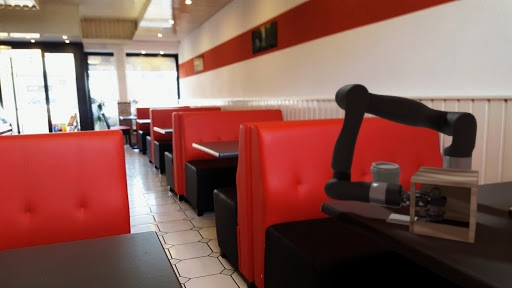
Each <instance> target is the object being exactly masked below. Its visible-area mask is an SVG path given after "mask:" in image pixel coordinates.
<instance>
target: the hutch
mask: <svg viewBox="0 0 512 288" xmlns="http://www.w3.org/2000/svg"><path fill="white" fill-rule="evenodd" d="M479 173H480V171H479V170H474V169H472V170H463V169H448V168H443V167H432V166H421V167H419V168H418V169H417V171H416V172H414V174H413V175H412V176H411V177H410V190H411V191H410V207H409V216H410V225H409V230H408V231H409V232H408V233H410V234H414V235H422V236H430V237H434V238H442V239H447V240H454V241H461V242H465V243H466V242H467V243H472V244H474V243H475V236H476V230H477V229H476V227H477V226H476V225H477V214H478V212H477V211H478V196H479V194H478V193H479V176H480V175H479ZM417 183H419V186H420V187H419V190H422V191H427V192H431V189H432V188H434V187H435V185H436V184H437V187H438V188H440V189H441V196H446V197H447V203H446V205H445V207H441V210H443V211H445V212H446V214H445V215H444V218H443V219H444V220H445V219H446V220H451V221H452V220H453V221H457V222H458V221H459V222H464V223H465V222H466V223H469V227H464V226H457V225H450V224H445V223H444V224H437V223H430V222H425V221H422V220H421V221H420V220H415V217H416V207H415V198H416V189H417ZM425 197H427V196H425ZM428 208H429V207H427V208H422V207H419V216H422V217H426V214H425V211H424V210H425V209H428ZM443 219H442V220H443Z"/></svg>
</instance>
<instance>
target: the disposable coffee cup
mask: <svg viewBox="0 0 512 288" xmlns="http://www.w3.org/2000/svg"><path fill="white" fill-rule="evenodd" d="M370 171H371V176H372V182H383V183H393V184H400V177H401V171H402V168H401V167H400V166H399V164H396V163H394V162H388V161H375V162H372V163H371V166H370Z"/></svg>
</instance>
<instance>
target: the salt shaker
mask: <svg viewBox="0 0 512 288" xmlns="http://www.w3.org/2000/svg"><path fill="white" fill-rule="evenodd" d="M430 198H431V199H432V198H436V199H441V189H440V188H438V187H437V184H436V185H435V187H434V188H432V189H431V196H430ZM424 211H425V214H426V216H425V217H426V218H427V219H426V220H425V221H424V222H430V223H437V224H444V225H445V223H444V222H443V221H442V220H443V218H444V215H445V214H446V212H445V211H443V210H441V207H437V206H429V208H428V209H425V210H424Z"/></svg>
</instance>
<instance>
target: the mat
mask: <svg viewBox="0 0 512 288" xmlns="http://www.w3.org/2000/svg"><path fill="white" fill-rule="evenodd" d="M418 217H419V216H415V220H416V221H418ZM386 223H393V224H398V225H400V224H401V225H406V226H410V215H405V214H397V213H391V214H390V215H389V217H388V218H387V219H386Z"/></svg>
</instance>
